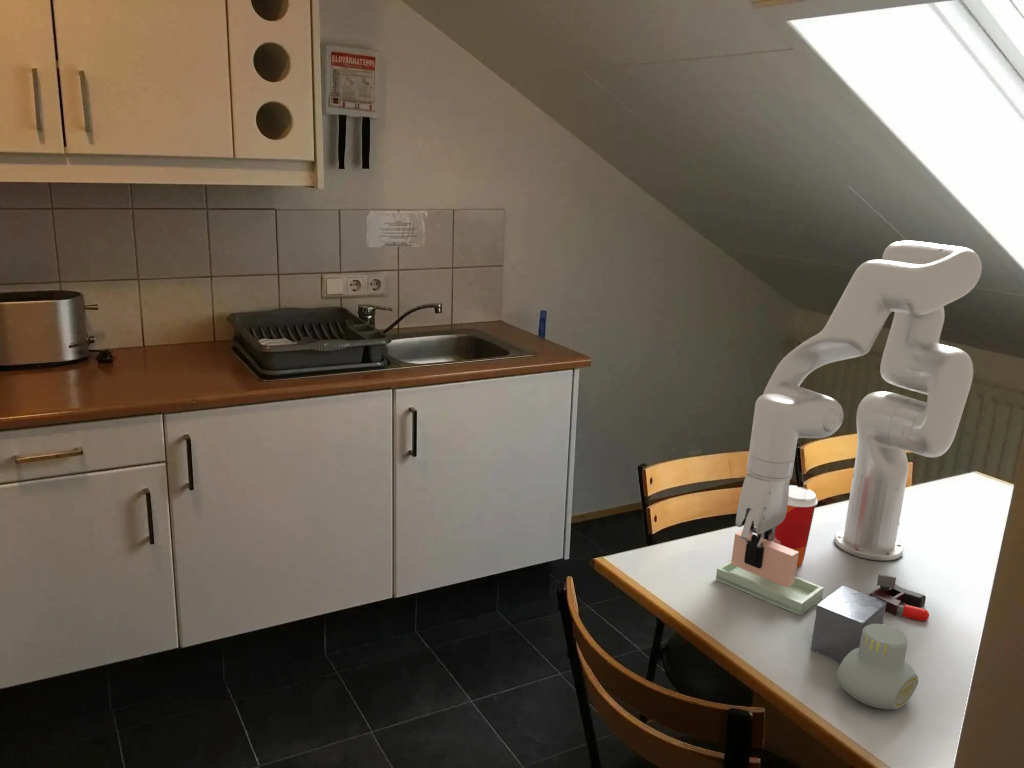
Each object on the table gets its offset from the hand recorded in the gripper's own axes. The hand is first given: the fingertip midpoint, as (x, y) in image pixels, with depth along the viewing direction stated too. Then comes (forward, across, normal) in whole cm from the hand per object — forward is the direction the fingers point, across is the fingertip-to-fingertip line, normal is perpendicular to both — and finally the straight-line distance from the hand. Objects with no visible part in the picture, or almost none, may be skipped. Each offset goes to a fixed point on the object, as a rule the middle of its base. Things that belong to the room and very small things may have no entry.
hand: (756, 562), depth 149 cm
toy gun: (+5, -10, +21) cm, 24 cm away
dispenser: (+4, +8, +20) cm, 22 cm away
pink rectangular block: (+2, 0, +1) cm, 2 cm away
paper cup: (+4, -13, 0) cm, 14 cm away
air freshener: (+5, +16, +28) cm, 33 cm away
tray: (+4, 0, +3) cm, 5 cm away
